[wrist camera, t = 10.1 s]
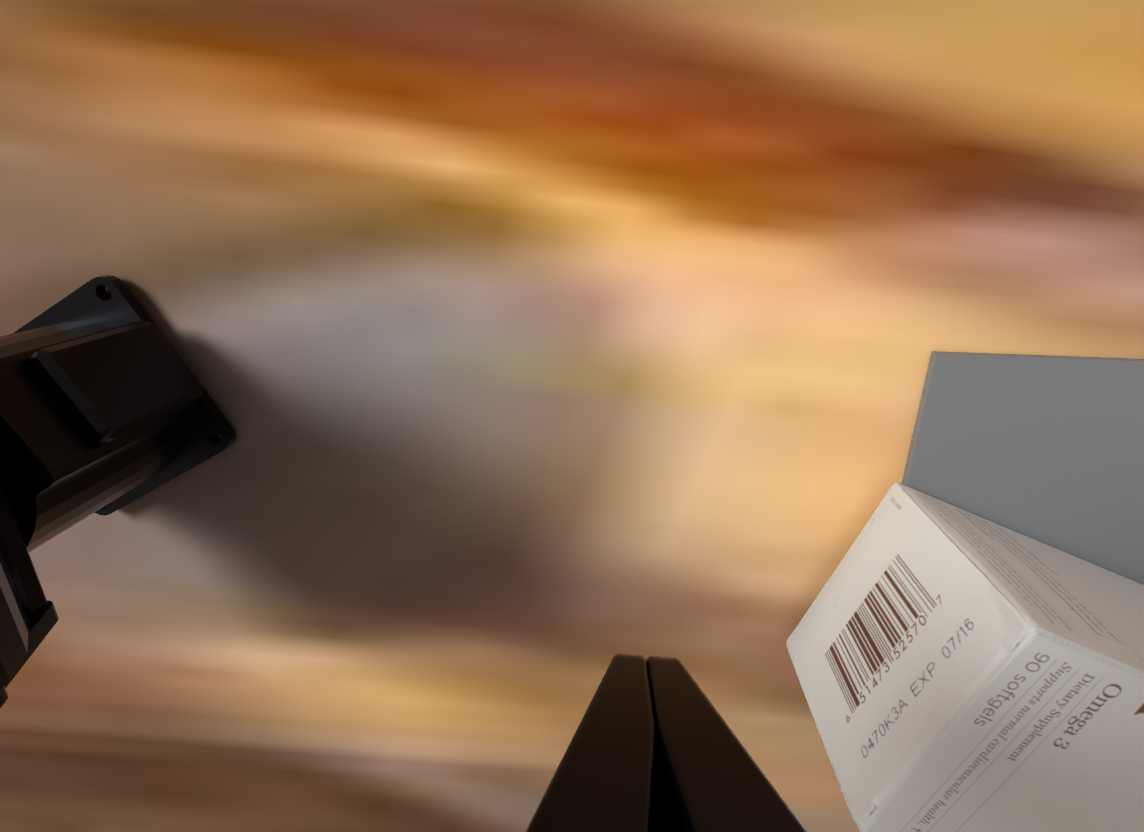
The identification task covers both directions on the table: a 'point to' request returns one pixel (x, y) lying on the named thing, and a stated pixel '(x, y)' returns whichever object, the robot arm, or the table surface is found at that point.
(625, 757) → the robot arm
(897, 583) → the supplement box
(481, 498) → the table surface
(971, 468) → the mat
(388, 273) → the table surface
